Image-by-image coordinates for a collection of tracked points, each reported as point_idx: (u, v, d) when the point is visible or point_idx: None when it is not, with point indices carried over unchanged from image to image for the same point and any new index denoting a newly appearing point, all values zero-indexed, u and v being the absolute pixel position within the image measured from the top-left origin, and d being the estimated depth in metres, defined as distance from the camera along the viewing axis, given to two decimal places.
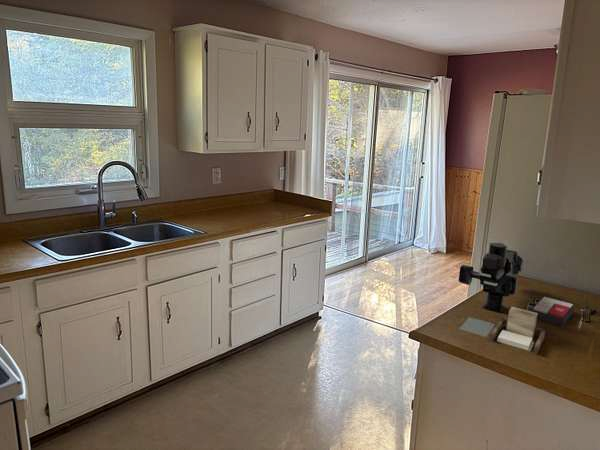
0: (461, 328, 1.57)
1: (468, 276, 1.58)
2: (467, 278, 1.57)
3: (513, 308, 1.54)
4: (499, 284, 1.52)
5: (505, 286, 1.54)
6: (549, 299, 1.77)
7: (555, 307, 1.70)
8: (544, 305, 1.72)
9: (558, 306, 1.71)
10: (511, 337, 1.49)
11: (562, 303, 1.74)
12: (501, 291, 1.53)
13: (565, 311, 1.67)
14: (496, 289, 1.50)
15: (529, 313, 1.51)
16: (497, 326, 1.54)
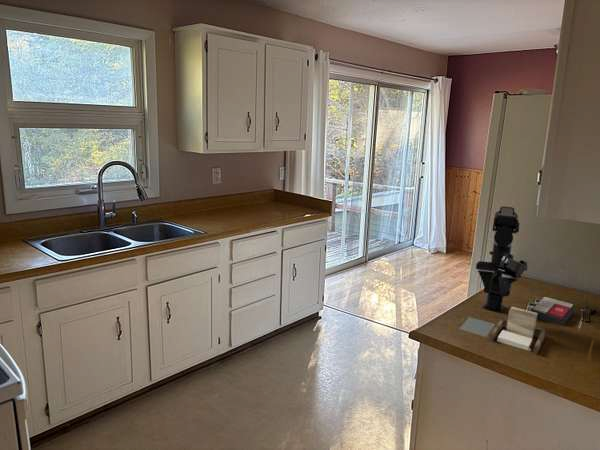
0: (461, 328, 1.57)
1: (491, 283, 1.54)
2: (490, 287, 1.54)
3: (513, 308, 1.54)
4: (507, 289, 1.59)
5: None
6: (549, 299, 1.77)
7: (555, 307, 1.70)
8: (544, 305, 1.72)
9: (558, 306, 1.71)
10: (511, 337, 1.49)
11: (562, 303, 1.73)
12: None
13: (565, 311, 1.67)
14: None
15: (529, 313, 1.51)
16: (497, 326, 1.54)
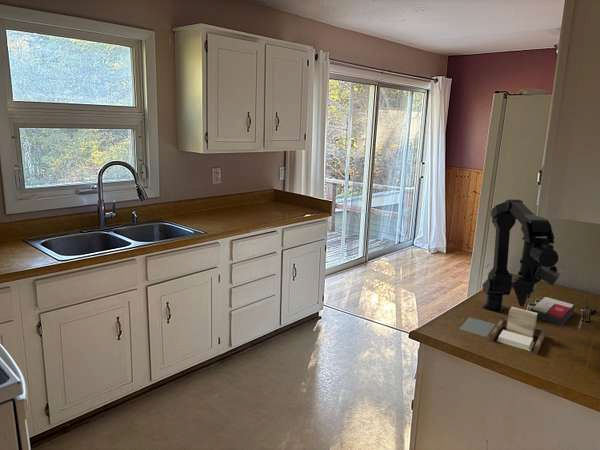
0: (461, 328, 1.57)
1: (526, 297, 1.46)
2: (525, 301, 1.46)
3: (513, 308, 1.54)
4: None
5: None
6: (550, 299, 1.77)
7: (555, 307, 1.70)
8: (544, 305, 1.72)
9: (558, 306, 1.71)
10: (512, 337, 1.49)
11: (562, 303, 1.73)
12: None
13: (565, 311, 1.67)
14: None
15: (529, 313, 1.51)
16: (497, 326, 1.54)
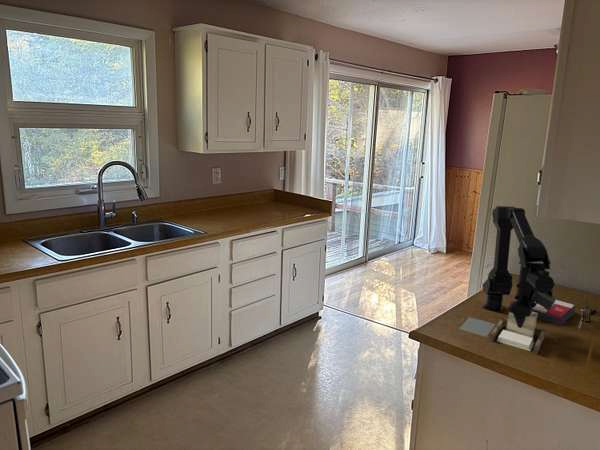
0: (461, 328, 1.57)
1: (524, 319, 1.50)
2: None
3: None
4: None
5: None
6: None
7: (555, 307, 1.70)
8: None
9: (558, 306, 1.70)
10: (512, 337, 1.49)
11: (563, 303, 1.73)
12: None
13: (564, 311, 1.67)
14: None
15: None
16: (497, 326, 1.54)
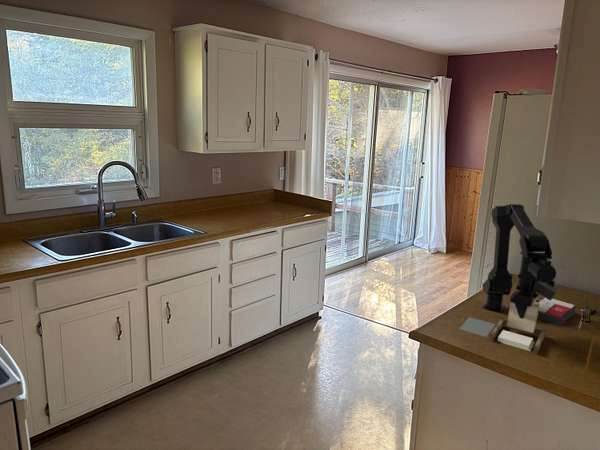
0: (461, 328, 1.57)
1: (526, 309, 1.49)
2: None
3: None
4: None
5: None
6: None
7: (555, 307, 1.70)
8: (544, 305, 1.72)
9: (558, 306, 1.70)
10: (512, 337, 1.49)
11: (563, 304, 1.73)
12: None
13: (564, 311, 1.67)
14: None
15: None
16: (497, 326, 1.54)
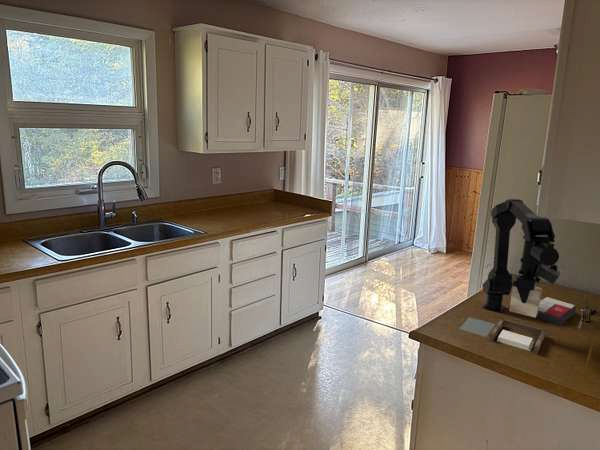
0: (461, 328, 1.57)
1: None
2: (527, 298, 1.48)
3: None
4: None
5: None
6: (551, 299, 1.77)
7: (555, 307, 1.70)
8: (544, 305, 1.72)
9: (558, 306, 1.70)
10: (512, 337, 1.49)
11: (563, 304, 1.73)
12: None
13: (564, 311, 1.67)
14: None
15: None
16: (497, 326, 1.54)
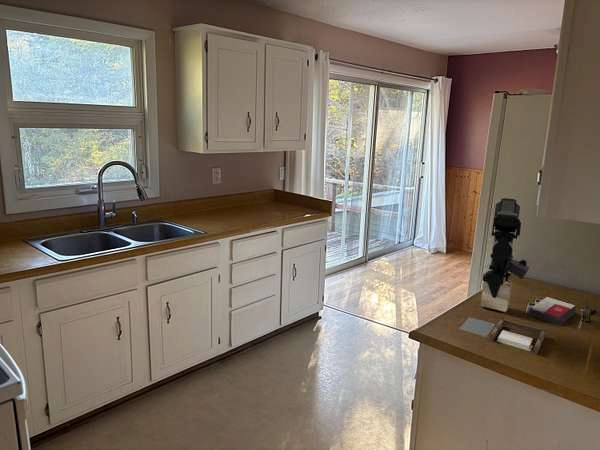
0: (461, 328, 1.57)
1: None
2: (497, 293, 1.51)
3: None
4: None
5: None
6: (551, 299, 1.77)
7: (555, 307, 1.70)
8: (544, 305, 1.72)
9: (558, 306, 1.70)
10: (512, 337, 1.49)
11: (563, 304, 1.73)
12: None
13: (564, 311, 1.67)
14: None
15: None
16: (497, 326, 1.54)
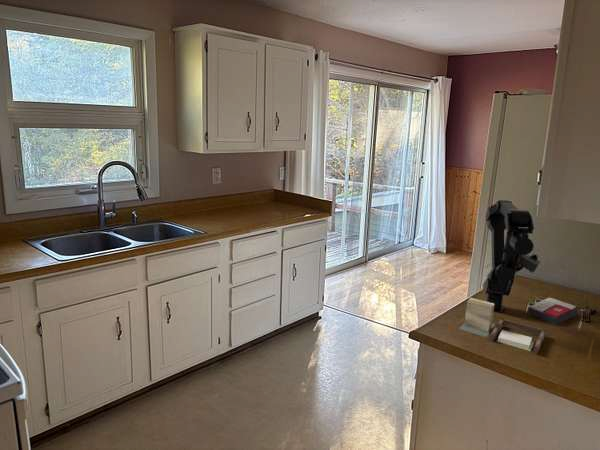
0: (461, 328, 1.57)
1: (509, 284, 1.55)
2: (507, 288, 1.56)
3: (471, 299, 1.59)
4: None
5: None
6: (553, 300, 1.76)
7: (554, 307, 1.70)
8: (543, 304, 1.72)
9: (558, 306, 1.70)
10: (511, 337, 1.49)
11: (565, 304, 1.72)
12: None
13: (563, 311, 1.66)
14: None
15: (486, 304, 1.56)
16: (497, 326, 1.54)
